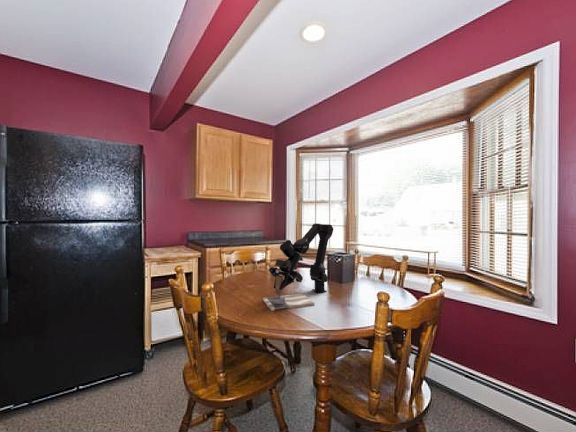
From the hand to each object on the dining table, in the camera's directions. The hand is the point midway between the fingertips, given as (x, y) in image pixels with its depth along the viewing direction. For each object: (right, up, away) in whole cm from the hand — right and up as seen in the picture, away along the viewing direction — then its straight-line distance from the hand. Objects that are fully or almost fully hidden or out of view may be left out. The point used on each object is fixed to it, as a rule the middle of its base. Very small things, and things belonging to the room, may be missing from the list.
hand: (277, 288), depth 135 cm
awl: (+1, -7, +1) cm, 7 cm away
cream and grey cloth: (+5, -9, +6) cm, 12 cm away
